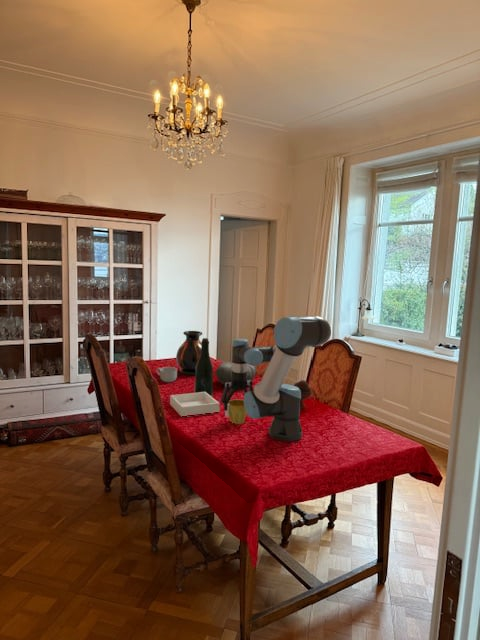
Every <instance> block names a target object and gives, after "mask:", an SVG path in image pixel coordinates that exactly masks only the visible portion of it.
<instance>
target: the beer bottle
mask: <svg viewBox="0 0 480 640" xmlns="http://www.w3.org/2000/svg"><path fill="white" fill-rule="evenodd" d="M200 342H201V354H200V357H199V360H198V362H197V365H196V372H195V375H194V393H198V392H206V393H207V394H209V395H210V396H211V397H212V395H213V391H214V388H213V387H214V365H213V363H212V360H211V356H210V349H209V347H210V341H209V338H208V337H207V338H206V337H204V338H203V337H202V340H201V341H200Z"/></svg>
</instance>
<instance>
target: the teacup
mask: <svg viewBox="0 0 480 640" xmlns="http://www.w3.org/2000/svg"><path fill="white" fill-rule="evenodd" d="M156 374H157V375H158V376H159V378H160V380H161V381H162V382H163V383H173V382H175V380H176V379H177V377H178V368H177V367H174V366H163V367H157V368H156Z"/></svg>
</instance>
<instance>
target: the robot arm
mask: <svg viewBox="0 0 480 640" xmlns="http://www.w3.org/2000/svg"><path fill="white" fill-rule="evenodd" d="M272 335H273V341H274V343H275V344H273V345H267V346H254V347H253V346H249V345H250V344H249V340H248V339H246V338H235V339H233V341H232V346H231V347H232V348H231V349H232V351H231V363H232V372H231V382H229V383H227V382H225V385H224V389H223V391H222V394H221V396H220V397H221V398H220V400H219V403H221V404H223V410H224V413H225V415H224V416H225V417H226V418H228V419H230V416H229V404H228V403H229V401H230V400H232V398H233V395H234V394H235V393H236V392H237V391H242V392H243V393H244V396H243V400H244V406H245V410H246V415H248V417H249V418H251V419H261V418H268V417H273V419H272V421H271V422H270V423H271V424H270V425H269V426H270V427H269V429H268V436H269V437H271V438H272V439H274V440H277V441H281V442H295V441H296V442H297V441H299V440H301V439H302V437H303V430H302V429H303V428H302V424H301V422H300V415H301V413H300V412H301V408H300V402H301V390H300V389H299V388H298V387H296V386H294V384H293V385H292V384H288V383H284V381H286V379H287V376H288V374H289V372H290V370H291V368H292V366H293V364H294V362H295V360H296V359H297V358H298V357H300V356H302V355H303V353H304V351H305V350H306V349H309V348H317V347H320V346H323V345H324V344H326V343H328V342H329V340H330V339H331V338H330V337H331V335H332V329H331V326H330V323H329V322H328V321H327V319H325V318H324V317H322V316H317V315H308V316H306V315H305V316H295V315H290V316H285V317H282V318H280V319H279V320H278V321H277V322H276V324H275V325H274V328H273V334H272ZM264 363H268V365H267V367H266V369H265V372H264V374H263V376H262V377H261V380H260V381H259V382H258V383H256V384H255V385H254V387H253V380H252V381H250V380H248V381H247V380H246V379H247V372H246V371H247V364H250V365H253V366H254V367H257V366H259V365H260V364H264ZM246 384H247V385H246ZM230 385H231V386H232V387H230ZM246 386H247V387H246ZM247 388H248V390H247Z"/></svg>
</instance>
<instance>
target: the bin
mask: <svg viewBox="0 0 480 640" xmlns="http://www.w3.org/2000/svg"><path fill="white" fill-rule="evenodd" d="M169 398H170V399H169V405H170V406H171V407H172V408H173V409H174V411H176V412H177V414H178V415H179V416H180V417H182V416H187V415H195V414H203V415H206V414H205V413H211V414H215V413H214V412H219V413H220V403H221V402H220V401H218V400H216V399H215V398H214V397H213V396H212V395H211V396H210V395H209V394H207V393H206V392H198V393H195V392H189V393H181V394H171V395H169ZM195 416H196V415H195ZM187 417H188V416H187Z"/></svg>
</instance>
